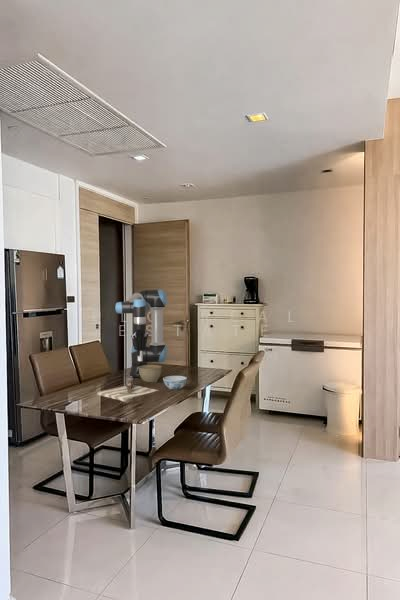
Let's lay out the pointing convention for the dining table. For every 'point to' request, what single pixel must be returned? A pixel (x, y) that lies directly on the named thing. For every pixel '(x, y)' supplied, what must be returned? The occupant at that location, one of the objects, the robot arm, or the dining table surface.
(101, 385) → the dining table surface
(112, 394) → the gauge board
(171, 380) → the chinaware
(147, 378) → the planter bowl
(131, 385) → the gauge needle
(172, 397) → the dining table surface
